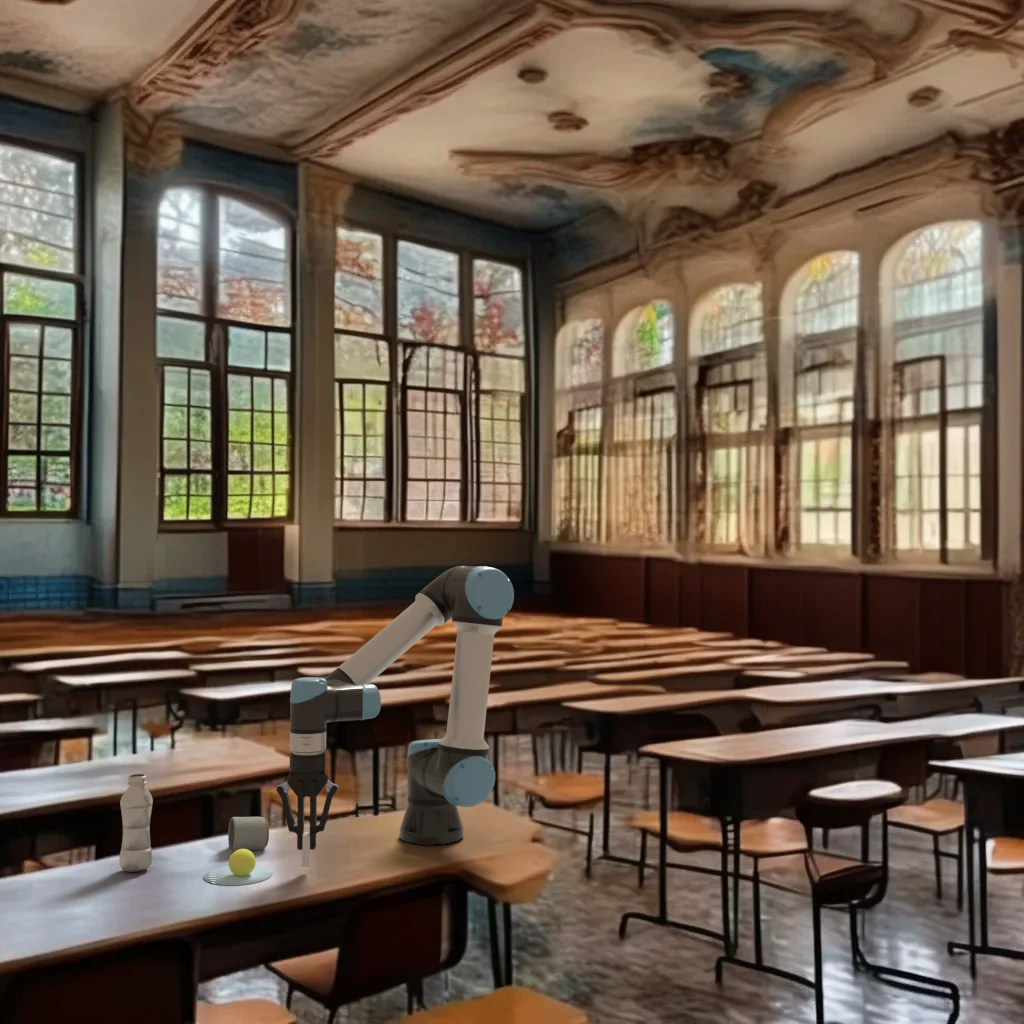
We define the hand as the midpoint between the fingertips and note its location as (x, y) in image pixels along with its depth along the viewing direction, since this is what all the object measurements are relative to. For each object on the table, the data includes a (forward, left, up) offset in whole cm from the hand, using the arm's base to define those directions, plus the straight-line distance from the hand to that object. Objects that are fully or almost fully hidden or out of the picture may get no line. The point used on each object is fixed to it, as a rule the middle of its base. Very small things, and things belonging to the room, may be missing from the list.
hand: (306, 864), depth 233 cm
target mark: (+14, 0, -2) cm, 14 cm away
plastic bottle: (+36, -5, -2) cm, 36 cm away
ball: (+13, 0, +1) cm, 13 cm away
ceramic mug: (+15, -21, -2) cm, 26 cm away
